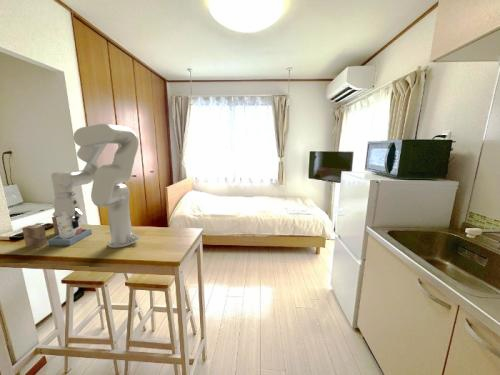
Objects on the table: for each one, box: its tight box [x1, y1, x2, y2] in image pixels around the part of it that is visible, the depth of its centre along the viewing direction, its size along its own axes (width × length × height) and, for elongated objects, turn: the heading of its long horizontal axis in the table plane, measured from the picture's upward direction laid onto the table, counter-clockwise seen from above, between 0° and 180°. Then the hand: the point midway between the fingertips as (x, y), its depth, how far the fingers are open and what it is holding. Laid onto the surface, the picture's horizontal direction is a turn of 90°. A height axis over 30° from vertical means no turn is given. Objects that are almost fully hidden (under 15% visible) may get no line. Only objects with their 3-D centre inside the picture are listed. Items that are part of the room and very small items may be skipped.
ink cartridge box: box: [56, 211, 83, 239], centre depth 113 cm, size 9×5×15 cm, turn 169°
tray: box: [47, 228, 93, 247], centre depth 114 cm, size 11×15×3 cm
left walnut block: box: [22, 225, 48, 248], centre depth 107 cm, size 8×3×10 cm, turn 90°
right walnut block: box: [51, 216, 59, 235], centre depth 122 cm, size 8×3×10 cm, turn 90°
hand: (70, 227), depth 113 cm, fingers closed on ink cartridge box, 5 cm apart
